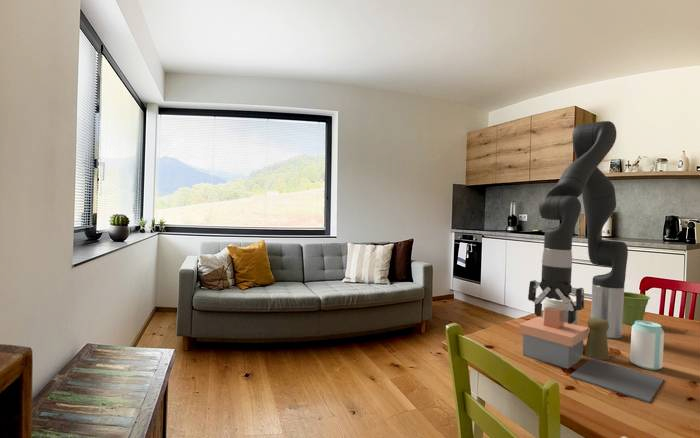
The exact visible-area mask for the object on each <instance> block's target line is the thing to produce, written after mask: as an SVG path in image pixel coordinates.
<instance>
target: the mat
mask: <svg viewBox="0 0 700 438" xmlns="http://www.w3.org/2000/svg"><path fill="white" fill-rule="evenodd" d="M569 378H571V379H575V380H578V381H580V382H581V381H582V382H584V383H587V384H591V385H593V386H597V387H599V388H602V389H605V390H609V391H611V392H614V393H618V394H621V395H624V396H625V397H626V396H627V397H630V398H632V399H636V400H639V401H641V402H645V403H647V404H651V402H652V400H653V399H654V397H655V395H656V394H657V393H658V390H659V389H660V387H661V386H662V384H663V382H664V381H665V380H664V379H665V378H662V377H659V376H656V375H652V374H649V373H645V372H642V371H639V370H634V369H632V368H631V369H630V368H627V367H624V366H620V365H617V364H614V363H610V362H606V361H602V360H601V359H596V358H592V357H590V358H589V360H587V361H586V362H584V363H583V364H582V365H581V366H579V367H578V368H577V369H575V371H573V372H572V373H571V374H569Z"/></svg>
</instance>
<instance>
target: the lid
mask: <svg viewBox="0 0 700 438" xmlns="http://www.w3.org/2000/svg"><path fill="white" fill-rule="evenodd" d="M543 311H544V310H543ZM564 312H565V309H560V308H555V307H547V308H545V311H544V317H543V316H540V317H537V316H536V317H533V318H531V319H529V320H525V321H524V322H521V323H519V324H518V325H519V326H518V333H519V334H522V335H524V334H526V335H530V336H533V337H537V338H541V339H544V340H548V341H552V342H555V343H559V344H563V345H566V346H570V347H572V346H574V345H576V344H577V343H579V342H580V341H582V340H583V341H584V340H585V339H586V338H588V335H589V330H590V328H589V327H587V326H583V325H578V324H577V325H574V324H568V323H566V322H564Z"/></svg>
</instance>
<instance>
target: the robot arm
mask: <svg viewBox="0 0 700 438" xmlns="http://www.w3.org/2000/svg"><path fill="white" fill-rule="evenodd" d="M616 140H617V129H616V125H615V124H614V123H613V122H612V121H610V120H604V121H603V120H602V121H595V122H588V123H581V124H578V125H576V126H575V127H574V128H573V131H572V145H573V151H574V154H575V155H574V156H575V160H574V161H572V163H570V164H569V165H568V166H567V167H566V168H565V170H564V171H563V172H562V175H561V176H560V178H559V180H558V181H557V183H556V184H555V185H554V186H553V187H552V188H551V189H550V190H549V191H548V192H547V193H546V194H545V195H544V196H543V197H542V199H541V200H540V201H539V205H538V211H539V212H538V213H539V215H540V216H541V217H542V219H545V220H549V221H551V220H552V221H561V223H560V225H559V226H556V227H552V228H547V229H545V231H544V240H543V251H542V257H541V258H542V259H541V265H542V266H541V280H540V281H537V280H530V281H529V286H528V295H527V300H528V301H530V302H533V303H534V315H535V316H536V317H542V315H543V314H542V312H543V302H544V299H545V298H546V297H548V298H549V299H556V300H562V301H563V302H564V304H566V306H567V307H568V309H569V311H568V324H572V323H573V322H575V320H576V311H577V310H578V311H581V310H583V309H584V308H585V290H584V288H583V287H579V288H577V287H573V286H572V272H573V271H572V268H573V267H572V266H573V252H572V247H573V236H574V231H575V228H576V225H577V222H578V220H579V217H580V215H581V212H582V204H581V201H580V199H579V197H580V196H582V203H583V210H584V215H585V220H586V233H587V252H588V258H589V261H590V263H591V264H592V265H594V266H601V267H607V268H608V267H610V268H611V271H609V272H606V273H603V274H598V275H594V276H593V277H592V281H591V283H592V285H591V306H590V318H600V319H603V320H606V321H607V322H608V324H609V328H608V330H607V331H606V333H607V339H622V338H623V337H622V336H623V325H624V324H623V305H624V292H625V283H626V276H627V275H626V274H627V266H628V264H627V262H628V257H629V249H628V245H627V244H626V243H625V242H624V241H619V240H609V239H608V240H607V239H602V230H603V228H604V226H605V225H606V223H607V222H608V220H609V219H610V218H611V216H612V215H613V214H614V211H615V210H616V207H617V200H616V199H617V197H616V189H615V186H614V184H613V183H612V181H611V180H610V179H609V177H607V176H606V174H605V173H603V172H602V170H601V169H600V168H599V167H598V166H599V165H600V164H601V163H602V161H603V160H604V159H605V157H607V155H608V154H609V152H610V151H612V148H613V147H614V145H615V142H616ZM539 287H540V289H541V291H542V292H541V293H539V295H538V296H536V295H537V289H539ZM571 293H573V295H574V296H575V299H576V306H575V304H574V303H573V301H572V299H571V298H572V297H571V296H570V295H571ZM564 299H565V300H564Z"/></svg>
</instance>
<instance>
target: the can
mask: <svg viewBox="0 0 700 438" xmlns="http://www.w3.org/2000/svg"><path fill="white" fill-rule="evenodd" d="M630 336H631V337H630V351H629V352H630V353H629V360H630V362H631V363H632V364H634V365H635V366H637V367H639V368H641V369H646V370H651V371H657V370H660V369H662V368H663V361H664V344H665V341H664V340H665V331H664V329H663V328H662V325H661V324H659V323H657V322H652V321H648V320H643V321H640V320H638V321H635V324H634V325H631V334H630Z"/></svg>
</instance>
